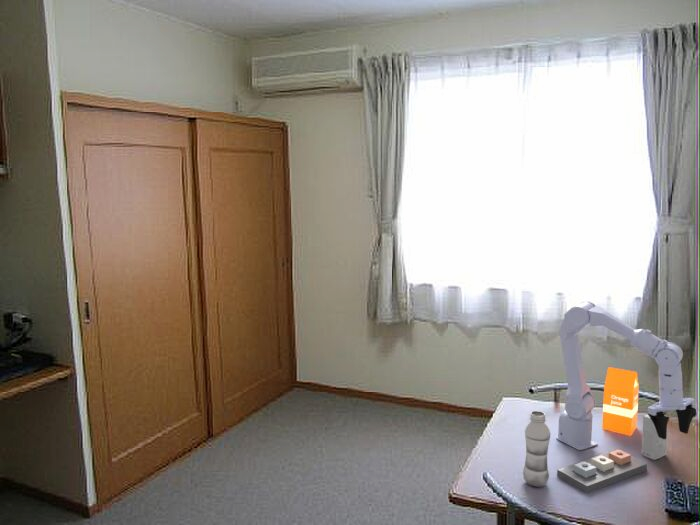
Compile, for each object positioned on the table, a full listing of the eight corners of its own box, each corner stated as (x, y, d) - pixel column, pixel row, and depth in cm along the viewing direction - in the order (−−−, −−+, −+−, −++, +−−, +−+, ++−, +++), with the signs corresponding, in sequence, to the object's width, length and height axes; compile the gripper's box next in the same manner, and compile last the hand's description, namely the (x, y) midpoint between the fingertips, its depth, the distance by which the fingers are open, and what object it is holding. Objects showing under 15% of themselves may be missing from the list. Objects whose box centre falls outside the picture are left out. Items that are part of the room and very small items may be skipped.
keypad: (557, 476, 160) (557, 469, 160) (615, 455, 171) (616, 449, 171) (586, 493, 151) (586, 486, 151) (646, 470, 162) (647, 463, 162)
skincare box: (655, 460, 168) (657, 421, 166) (640, 454, 171) (642, 416, 170) (666, 454, 171) (669, 416, 169) (651, 449, 175) (654, 411, 173)
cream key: (591, 465, 162) (591, 458, 162) (601, 461, 164) (601, 454, 163) (603, 471, 158) (603, 464, 158) (613, 467, 160) (613, 460, 160)
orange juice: (608, 420, 195) (611, 363, 192) (636, 427, 190) (640, 368, 187) (601, 428, 189) (604, 370, 186) (631, 436, 184) (634, 375, 181)
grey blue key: (573, 471, 159) (574, 464, 158) (583, 467, 160) (584, 460, 160) (585, 478, 155) (585, 470, 155) (595, 474, 157) (596, 466, 157)
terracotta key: (608, 459, 165) (608, 452, 165) (618, 455, 167) (618, 448, 167) (620, 465, 162) (621, 458, 161) (630, 461, 163) (630, 454, 163)
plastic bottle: (528, 474, 161) (530, 406, 158) (552, 482, 157) (554, 412, 154) (518, 484, 156) (520, 414, 153) (543, 492, 152) (545, 420, 149)
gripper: (661, 396, 154) (663, 445, 156) (703, 386, 158) (705, 434, 160) (641, 389, 161) (643, 436, 162) (682, 380, 165) (684, 426, 166)
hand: (673, 435), depth 161 cm, fingers open, 7 cm apart
